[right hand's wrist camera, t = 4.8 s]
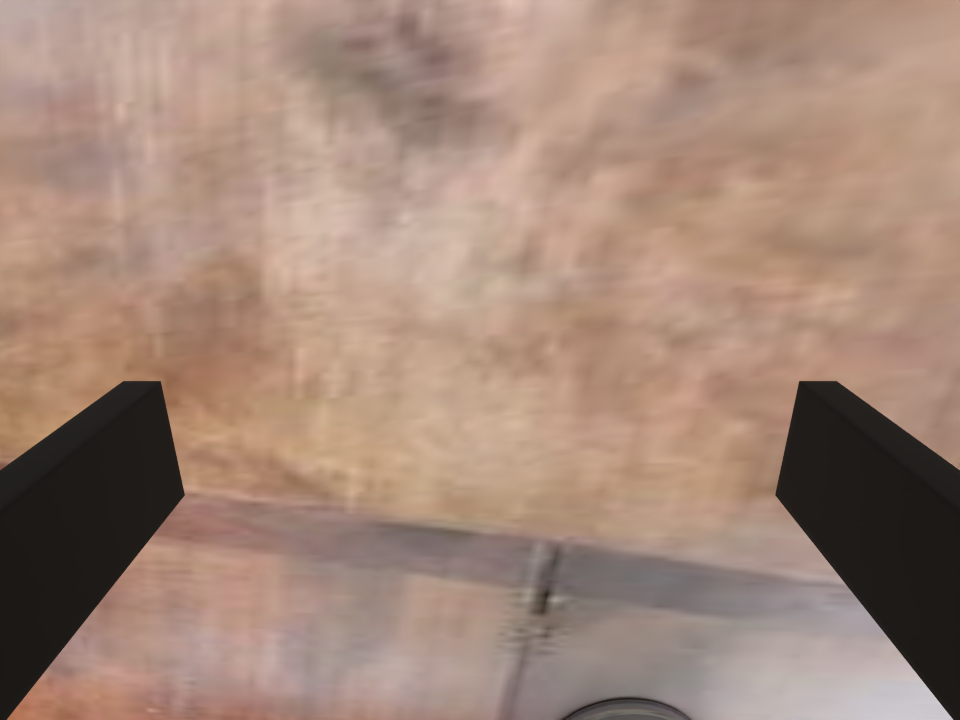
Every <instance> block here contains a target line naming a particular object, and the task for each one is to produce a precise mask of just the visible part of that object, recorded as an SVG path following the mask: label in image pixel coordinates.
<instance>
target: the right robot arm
mask: <svg viewBox="0 0 960 720" xmlns="http://www.w3.org/2000/svg"><path fill="white" fill-rule="evenodd" d="M184 495H185V494H184V490H183V485H182V480H181V475H180V471H179V466H178V461H177V456H176V452H175V447H174V442H173V437H172V433H171V428H170V423H169V418H168V414H167V409H166V404H165V399H164V395H163V390H162V385H161V381H123V382H122V383H120V384H119V385H118V386H116V387H115V388H113V389H112V390H111V391H109V392H108V393H106V394H105V395H104V396H102V397H101V398H100V399H98V400H97V401H95V402H94V403H93V404H91V405H90V406H89V407H87V408H86V409H84V410H83V411H82V412H80V413H79V414H77V415H76V416H75V417H73V418H72V419H71V420H69V421H68V422H66V423H65V424H64V425H62V426H61V427H60V428H58V429H57V430H55V431H54V432H53V433H51V434H50V435H49V436H47V437H46V438H44V439H43V440H42V441H40V442H39V443H37V444H36V445H35V446H33V447H32V448H31V449H29V450H28V451H26V452H25V453H24V454H22V455H21V456H20V457H18V458H17V459H15V460H14V461H13V462H11V463H10V464H8V465H7V466H6V467H4V468H3V469H2V470H0V720H7V718H8V717H9V716H10V715H11V713H12V712H13V711H14V710H15V708H16V707H17V706H18V705H19V703H20V702H21V701H22V700H23V698H24V697H25V696H26V695H27V693H28V692H29V691H30V689H31V688H32V687H33V686H34V684H35V683H36V682H37V681H38V679H39V678H40V677H41V676H42V674H43V673H44V672H45V671H46V669H47V668H48V667H49V666H50V664H51V663H52V662H53V660H54V659H55V658H56V657H57V655H58V654H59V653H60V652H61V650H62V649H63V648H64V647H65V645H66V644H67V643H68V642H69V640H70V639H71V638H72V637H73V635H74V634H75V633H76V631H77V630H78V629H79V628H80V626H81V625H82V624H83V623H84V621H85V620H86V619H87V618H88V616H89V615H90V614H91V613H92V611H93V610H94V609H95V608H96V606H97V605H98V604H99V602H100V601H101V600H102V599H103V597H104V596H105V595H106V594H107V592H108V591H109V590H110V589H111V587H112V586H113V585H114V584H115V582H116V581H117V580H118V579H119V577H120V576H121V575H122V573H123V572H124V571H125V570H126V568H127V567H128V566H129V565H130V563H131V562H132V561H133V560H134V558H135V557H136V556H137V555H138V553H139V552H140V551H141V550H142V548H143V547H144V546H145V545H146V543H147V542H148V541H149V539H150V538H151V537H152V536H153V534H154V533H155V532H156V531H157V529H158V528H159V527H160V526H161V524H162V523H163V522H164V521H165V519H166V518H167V517H168V516H169V514H170V513H171V512H172V510H173V509H174V508H175V507H176V505H177V504H178V503H179V502H180V500H181V499H182V498H183V497H184ZM775 495H776V497H777V498H778V499H779V500H780V502H781V503H782V504H783V505H784V507H785V508H786V509H787V510H788V512H789V513H790V514H791V516H792V517H793V518H794V519H795V521H796V522H797V523H798V524H799V526H800V527H801V528H802V529H803V531H804V532H805V533H806V534H807V536H808V537H809V538H810V539H811V541H812V542H813V543H814V545H815V546H816V547H817V548H818V550H819V551H820V552H821V553H822V555H823V556H824V557H825V558H826V560H827V561H828V562H829V563H830V565H831V566H832V567H833V568H834V570H835V571H836V572H837V573H838V575H839V576H840V577H841V579H842V580H843V581H844V582H845V584H846V585H847V586H848V587H849V589H850V590H851V591H852V592H853V594H854V595H855V596H856V597H857V599H858V600H859V601H860V602H861V604H862V605H863V606H864V608H865V609H866V610H867V611H868V613H869V614H870V615H871V616H872V618H873V619H874V620H875V621H876V623H877V624H878V625H879V626H880V628H881V629H882V630H883V631H884V633H885V634H886V635H887V637H888V638H889V639H890V640H891V642H892V643H893V644H894V645H895V647H896V648H897V649H898V650H899V652H900V653H901V654H902V655H903V657H904V658H905V659H906V660H907V662H908V663H909V664H910V666H911V667H912V668H913V669H914V671H915V672H916V673H917V674H918V676H919V677H920V678H921V679H922V681H923V682H924V683H925V684H926V686H927V687H928V688H929V689H930V691H931V692H932V693H933V695H934V696H935V697H936V698H937V700H938V701H939V702H940V703H941V705H942V706H943V707H944V708H945V710H946V711H947V712H948V713H949V715H950V716H951V717H952V718H953V720H960V470H958V469H957V468H956V467H954V466H953V465H952V464H950V463H949V462H947V461H946V460H945V459H943V458H942V457H940V456H939V455H938V454H936V453H935V452H934V451H932V450H931V449H929V448H928V447H927V446H925V445H924V444H923V443H921V442H920V441H918V440H917V439H916V438H914V437H913V436H911V435H910V434H909V433H907V432H906V431H905V430H903V429H902V428H900V427H899V426H898V425H896V424H895V423H894V422H892V421H891V420H889V419H888V418H887V417H885V416H884V415H883V414H881V413H880V412H878V411H877V410H876V409H874V408H873V407H871V406H870V405H869V404H867V403H866V402H865V401H863V400H862V399H860V398H859V397H858V396H856V395H855V394H854V393H852V392H851V391H849V390H848V389H847V388H845V387H844V386H842V385H841V384H840V383H838V382H837V381H799V385H798V390H797V395H796V399H795V404H794V409H793V414H792V418H791V423H790V428H789V433H788V437H787V442H786V447H785V452H784V456H783V461H782V466H781V471H780V475H779V480H778V485H777V490H776V494H775ZM565 720H690V719H688V718H687V717H686V716H685V715H683V714H682V713H680V712H679V711H677V710H675V709H673V708H671V707H669V706H666V705H663V704H660V703H656V702H651V701H646V700H634V699H626V700H613V701H608V702H603V703H599V704H595V705H592V706H589V707H587V708H584V709H582V710H580V711H578V712H576V713H574V714H572V715H571V716H569V717H568V718H566V719H565Z"/></svg>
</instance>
